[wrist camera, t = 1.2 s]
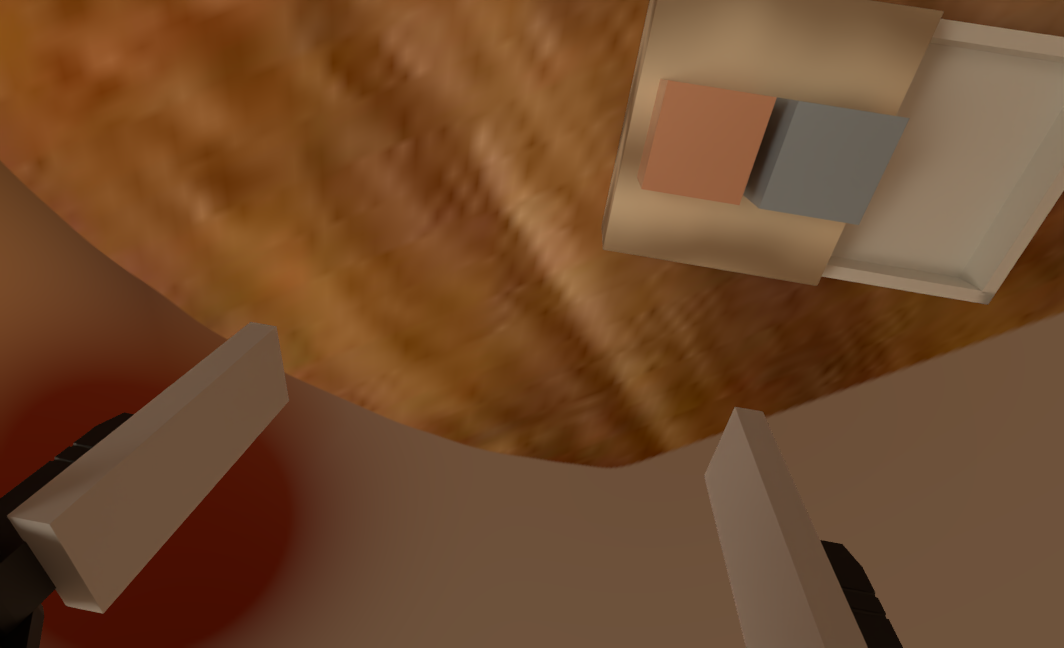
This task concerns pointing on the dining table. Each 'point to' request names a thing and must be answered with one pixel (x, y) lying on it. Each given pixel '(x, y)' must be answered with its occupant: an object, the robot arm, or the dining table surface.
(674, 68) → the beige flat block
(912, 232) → the tray
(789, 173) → the slate gray square block
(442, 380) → the dining table surface
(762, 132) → the salmon orange square block
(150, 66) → the dining table surface
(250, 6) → the dining table surface
